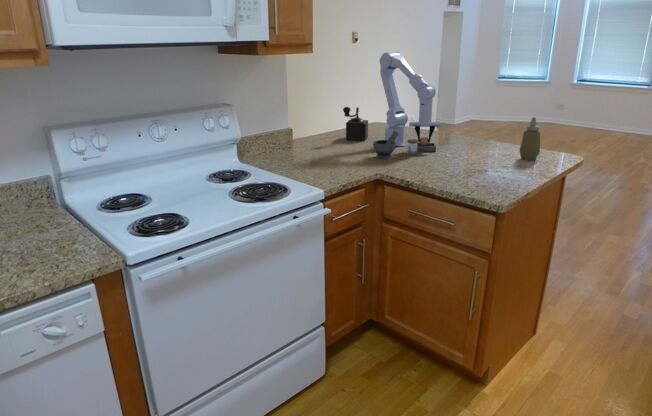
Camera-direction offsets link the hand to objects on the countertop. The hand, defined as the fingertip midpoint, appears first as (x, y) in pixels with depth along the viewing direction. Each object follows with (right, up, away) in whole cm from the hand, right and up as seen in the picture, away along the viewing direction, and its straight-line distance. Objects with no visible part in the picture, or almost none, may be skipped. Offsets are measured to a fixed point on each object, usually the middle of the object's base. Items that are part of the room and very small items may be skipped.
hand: (424, 142), depth 221 cm
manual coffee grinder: (-31, +4, +25) cm, 40 cm away
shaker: (-7, -7, -8) cm, 13 cm away
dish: (0, -3, +1) cm, 4 cm away
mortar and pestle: (-20, -9, -11) cm, 24 cm away
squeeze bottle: (+41, -10, -20) cm, 47 cm away
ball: (0, -1, 0) cm, 1 cm away
